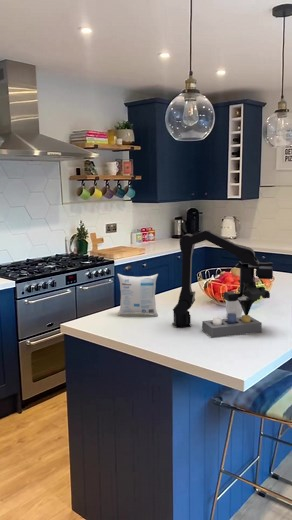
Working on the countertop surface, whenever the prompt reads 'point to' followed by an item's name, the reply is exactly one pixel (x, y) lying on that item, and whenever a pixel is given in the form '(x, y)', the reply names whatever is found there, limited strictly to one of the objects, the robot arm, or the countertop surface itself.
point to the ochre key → (245, 318)
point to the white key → (217, 321)
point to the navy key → (231, 318)
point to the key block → (231, 327)
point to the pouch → (137, 294)
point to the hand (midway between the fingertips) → (246, 315)
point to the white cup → (234, 308)
